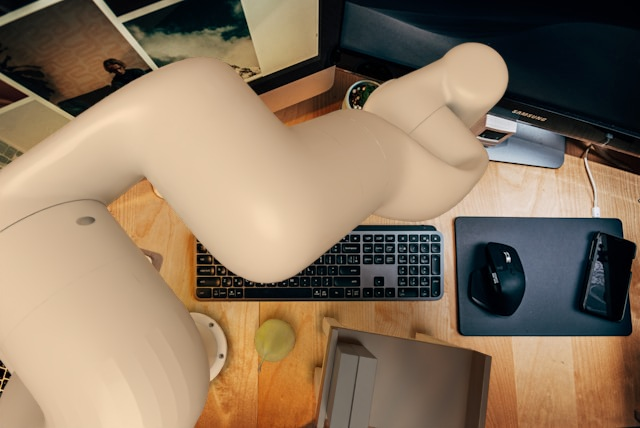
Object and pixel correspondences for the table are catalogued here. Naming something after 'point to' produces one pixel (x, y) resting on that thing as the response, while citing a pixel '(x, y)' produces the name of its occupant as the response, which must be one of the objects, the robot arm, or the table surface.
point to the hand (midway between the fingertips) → (405, 160)
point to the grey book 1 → (342, 386)
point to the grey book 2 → (363, 388)
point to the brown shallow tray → (416, 382)
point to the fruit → (274, 341)
